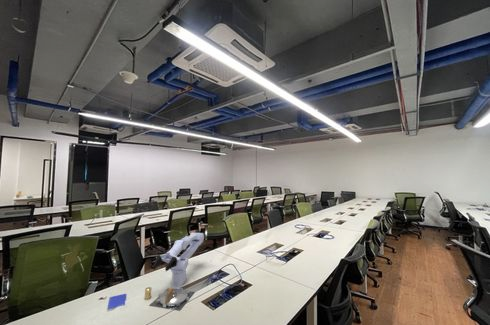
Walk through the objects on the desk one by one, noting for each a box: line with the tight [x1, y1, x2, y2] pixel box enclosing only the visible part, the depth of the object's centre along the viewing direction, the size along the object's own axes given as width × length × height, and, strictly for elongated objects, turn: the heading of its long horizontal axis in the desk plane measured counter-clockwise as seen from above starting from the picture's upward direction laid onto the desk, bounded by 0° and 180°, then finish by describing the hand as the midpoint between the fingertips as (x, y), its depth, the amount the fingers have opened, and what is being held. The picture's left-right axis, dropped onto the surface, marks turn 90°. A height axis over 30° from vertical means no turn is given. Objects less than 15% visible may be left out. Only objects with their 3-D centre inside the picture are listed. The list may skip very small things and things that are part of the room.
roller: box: [144, 286, 152, 301], centre depth 112 cm, size 3×3×6 cm
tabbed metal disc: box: [155, 287, 190, 309], centre depth 112 cm, size 18×18×5 cm
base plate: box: [148, 287, 196, 312], centre depth 112 cm, size 18×18×1 cm
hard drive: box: [106, 293, 127, 312], centre depth 108 cm, size 2×8×12 cm
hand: (159, 268), depth 109 cm, fingers open, 7 cm apart
